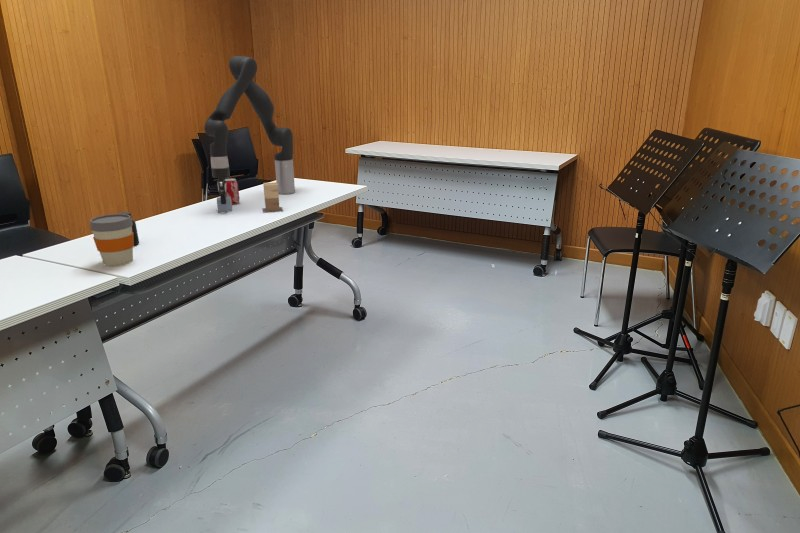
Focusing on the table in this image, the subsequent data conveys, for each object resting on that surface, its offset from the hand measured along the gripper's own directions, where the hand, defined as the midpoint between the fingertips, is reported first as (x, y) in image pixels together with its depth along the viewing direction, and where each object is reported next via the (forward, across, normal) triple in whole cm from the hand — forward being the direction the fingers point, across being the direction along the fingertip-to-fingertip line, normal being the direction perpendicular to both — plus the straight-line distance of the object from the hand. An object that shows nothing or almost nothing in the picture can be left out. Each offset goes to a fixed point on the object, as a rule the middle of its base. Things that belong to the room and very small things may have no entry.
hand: (224, 202), depth 253 cm
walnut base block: (+4, -6, -21) cm, 22 cm away
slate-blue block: (+4, 0, 0) cm, 4 cm away
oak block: (-2, -6, -21) cm, 22 cm away
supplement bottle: (+5, -45, +33) cm, 56 cm away
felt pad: (+4, -6, -21) cm, 22 cm away
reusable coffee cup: (+5, -65, +33) cm, 73 cm away
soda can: (+4, +13, -3) cm, 14 cm away
